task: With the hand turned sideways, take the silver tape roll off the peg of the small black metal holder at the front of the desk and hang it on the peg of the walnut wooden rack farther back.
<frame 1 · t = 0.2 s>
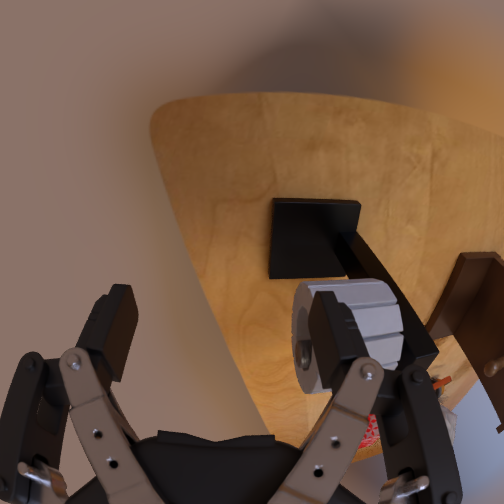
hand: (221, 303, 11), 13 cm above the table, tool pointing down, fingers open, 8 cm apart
headphones: (419, 387, 49), on the table
rack: (459, 295, 33), on the table
red patterned cube: (353, 416, 52), on the table
holder: (312, 238, 26), on the table
vase: (425, 408, 60), on the table
tape: (340, 335, 15), point 12 cm above the table, touching holder
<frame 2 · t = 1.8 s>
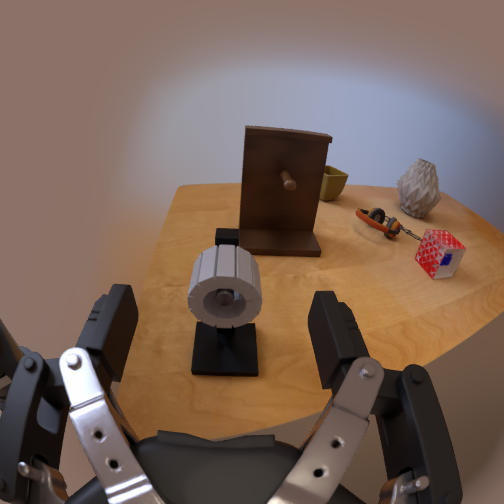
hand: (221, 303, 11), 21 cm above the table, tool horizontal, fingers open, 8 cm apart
headphones: (384, 231, 66), on the table
rack: (277, 241, 57), on the table
red patterned cube: (433, 268, 53), on the table
holder: (225, 350, 34), on the table
flower pot: (323, 198, 81), on the table
vase: (411, 213, 80), on the table
tape: (225, 287, 26), point 12 cm above the table, touching holder
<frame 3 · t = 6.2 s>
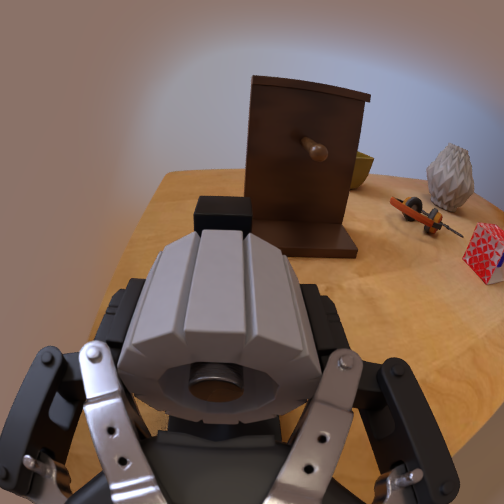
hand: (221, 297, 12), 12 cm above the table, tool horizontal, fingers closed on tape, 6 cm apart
headphones: (421, 226, 50), on the table
rack: (296, 237, 41), on the table
red patterned cube: (483, 271, 37), on the table
holder: (224, 420, 17), on the table
flower pot: (344, 186, 65), on the table
vase: (442, 206, 64), on the table
tape: (220, 337, 10), point 12 cm above the table, touching gripper, holder
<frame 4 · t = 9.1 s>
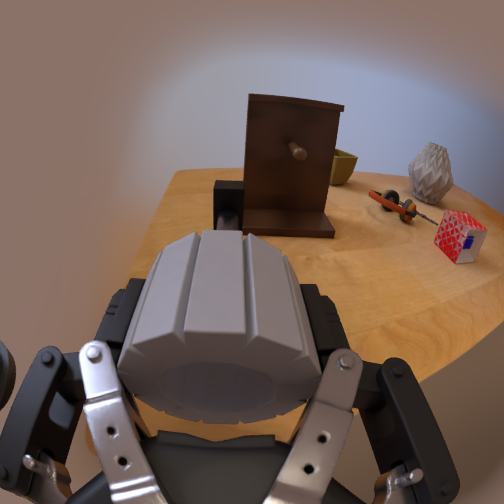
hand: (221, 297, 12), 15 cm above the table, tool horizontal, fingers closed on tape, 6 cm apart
headphones: (398, 215, 59), on the table
rack: (285, 222, 50), on the table
red patterned cube: (454, 253, 46), on the table
holder: (226, 342, 27), on the table
flower pot: (332, 182, 74), on the table
vase: (424, 199, 73), on the table
tape: (220, 337, 10), point 15 cm above the table, touching gripper
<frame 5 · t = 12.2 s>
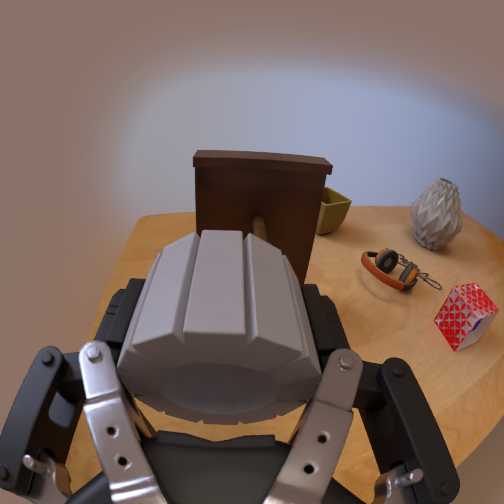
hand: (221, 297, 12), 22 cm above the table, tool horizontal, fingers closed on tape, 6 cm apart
headphones: (395, 279, 50), on the table
rack: (251, 311, 41), on the table
red patterned cube: (455, 332, 37), on the table
flower pot: (319, 229, 65), on the table
vase: (426, 243, 64), on the table
tape: (219, 338, 10), point 22 cm above the table, touching gripper
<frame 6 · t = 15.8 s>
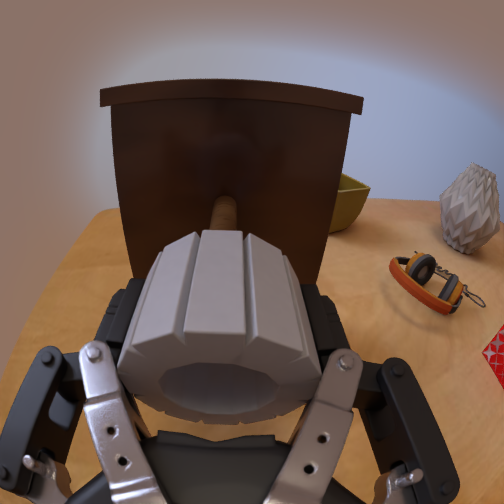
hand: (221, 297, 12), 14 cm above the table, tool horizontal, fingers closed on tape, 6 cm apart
headphones: (431, 294, 34), on the table
rack: (223, 354, 25), on the table
flower pot: (327, 226, 49), on the table
vase: (457, 245, 48), on the table
tape: (220, 338, 10), point 14 cm above the table, touching gripper
when the fingers open (13 cm above the table, at t = 18.6 s): tape stays where it is, resting on rack.
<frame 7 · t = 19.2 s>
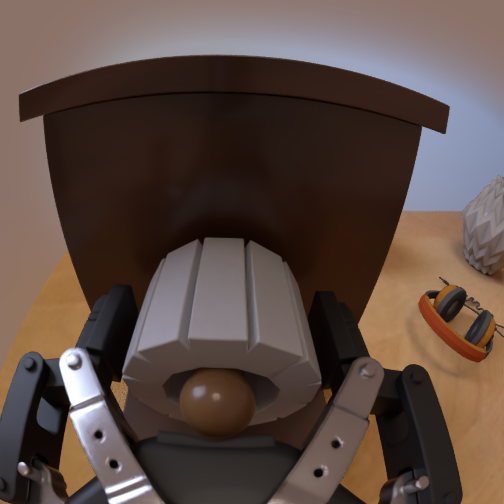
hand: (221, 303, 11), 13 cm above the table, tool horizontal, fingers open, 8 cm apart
headphones: (458, 329, 27), on the table
rack: (225, 427, 18), on the table
vase: (478, 264, 41), on the table
tape: (222, 343, 10), point 13 cm above the table, touching rack
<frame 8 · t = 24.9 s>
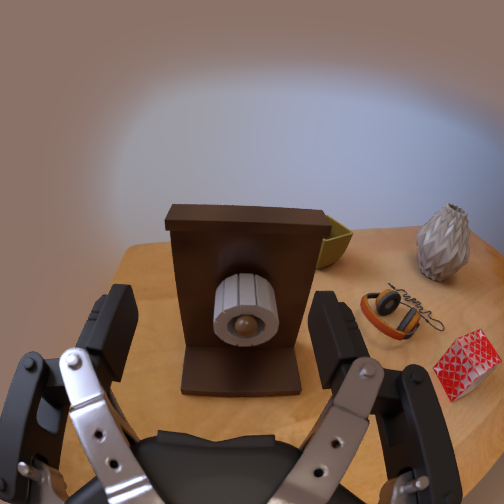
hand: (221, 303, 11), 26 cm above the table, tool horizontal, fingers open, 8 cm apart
headphones: (396, 320, 46), on the table
rack: (240, 367, 37), on the table
red patterned cube: (454, 379, 33), on the table
flower pot: (318, 262, 61), on the table
vase: (431, 272, 60), on the table
tape: (245, 310, 29), point 13 cm above the table, touching rack
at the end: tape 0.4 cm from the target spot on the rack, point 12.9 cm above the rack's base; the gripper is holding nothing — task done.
